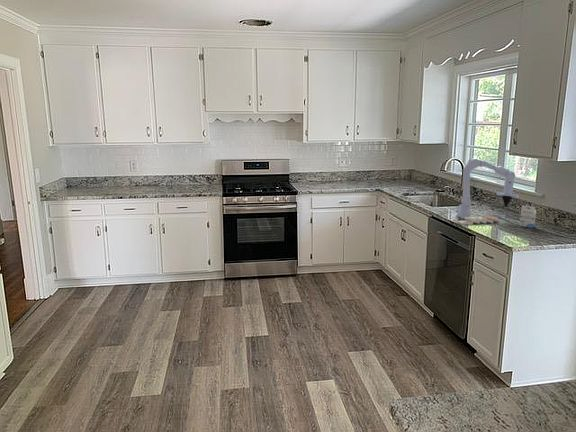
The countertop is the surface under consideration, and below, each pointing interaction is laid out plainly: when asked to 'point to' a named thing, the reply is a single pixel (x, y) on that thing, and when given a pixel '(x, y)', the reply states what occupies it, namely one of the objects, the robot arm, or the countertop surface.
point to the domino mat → (492, 223)
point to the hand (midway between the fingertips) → (505, 206)
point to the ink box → (527, 216)
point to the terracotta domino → (491, 218)
